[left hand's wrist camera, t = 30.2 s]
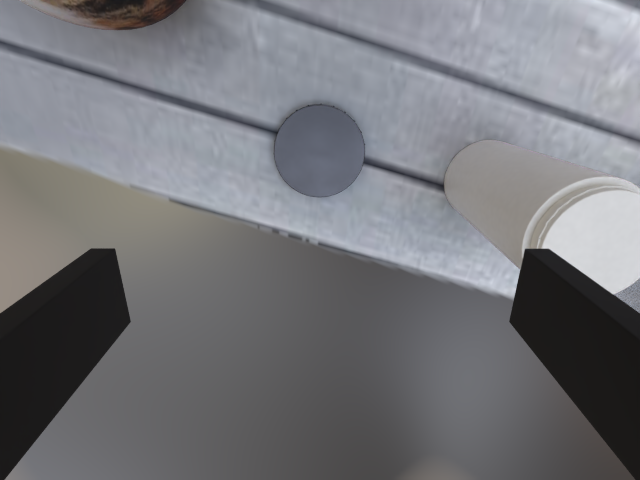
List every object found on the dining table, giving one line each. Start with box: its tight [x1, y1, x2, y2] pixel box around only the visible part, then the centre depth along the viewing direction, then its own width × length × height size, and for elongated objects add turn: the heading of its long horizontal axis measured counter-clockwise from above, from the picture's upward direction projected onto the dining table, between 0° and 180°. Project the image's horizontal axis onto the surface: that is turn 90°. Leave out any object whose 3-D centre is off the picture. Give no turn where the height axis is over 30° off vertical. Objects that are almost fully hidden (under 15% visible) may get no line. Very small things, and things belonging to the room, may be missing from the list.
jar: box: [444, 140, 640, 294], centre depth 33 cm, size 8×8×19 cm
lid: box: [274, 104, 365, 197], centre depth 39 cm, size 9×9×2 cm
